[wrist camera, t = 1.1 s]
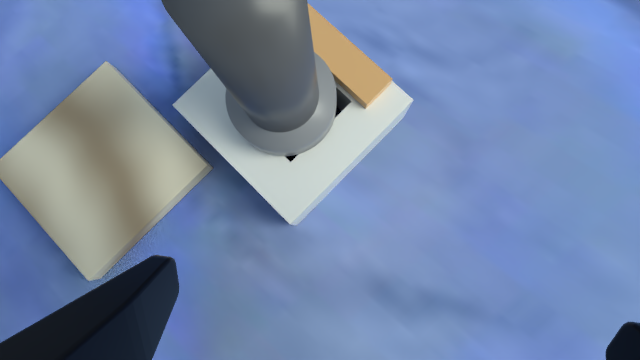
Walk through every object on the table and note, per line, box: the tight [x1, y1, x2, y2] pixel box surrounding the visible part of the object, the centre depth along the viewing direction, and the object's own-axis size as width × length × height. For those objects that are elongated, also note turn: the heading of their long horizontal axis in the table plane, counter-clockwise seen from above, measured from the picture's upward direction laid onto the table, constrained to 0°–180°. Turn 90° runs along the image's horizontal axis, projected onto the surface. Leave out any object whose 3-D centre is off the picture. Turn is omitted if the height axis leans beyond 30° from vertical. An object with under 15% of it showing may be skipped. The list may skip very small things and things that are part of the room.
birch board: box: [0, 61, 213, 281], centre depth 22 cm, size 9×9×1 cm
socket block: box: [173, 3, 413, 226], centre depth 20 cm, size 9×9×4 cm
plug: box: [162, 0, 337, 156], centre depth 16 cm, size 5×5×13 cm
